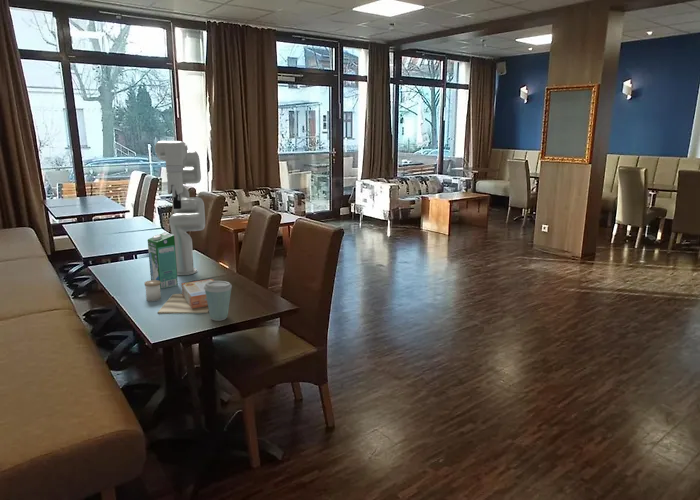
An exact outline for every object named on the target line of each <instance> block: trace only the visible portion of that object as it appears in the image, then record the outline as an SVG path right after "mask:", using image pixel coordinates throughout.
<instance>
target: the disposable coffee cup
mask: <svg viewBox="0 0 700 500" xmlns="http://www.w3.org/2000/svg"><path fill="white" fill-rule="evenodd" d="M232 288H233V285H232V283H230V282H229V281H225V280H214V281H211V282H207V283H206V285H205V286H204V289H205V292H206V298H207V303H208V308H209V311H208V313H209V317H210V319H211V320H212V321H217V322H218V321H225V320H226V319H227V318H228V315H229V307H230V301H231V293H232Z"/></svg>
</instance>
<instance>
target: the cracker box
mask: <svg viewBox="0 0 700 500" xmlns="http://www.w3.org/2000/svg"><path fill="white" fill-rule="evenodd" d="M211 281H215V280H214V279H213V278H210V279H203V280H195V281H188V282H182V283H181V284H180V285H181V294H182V295H183V296H184V298H185V299H186V301H187V302H188V304H189V305H190V306H191V308H192V309H194V308H200V307H205V306H208V303H207V298H206V292H205V289H204V286H205V285H206V283H207V282H211Z"/></svg>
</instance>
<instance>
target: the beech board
mask: <svg viewBox="0 0 700 500" xmlns="http://www.w3.org/2000/svg"><path fill="white" fill-rule="evenodd" d="M205 313H206V314H208V313H209V308H208V306H205V307H200V308H194V309H192V308H191V306H190V305H189V304H188V302H187V301H186V299H185V298H184V296H183V295H182V293H172V295H171V296H170V297H169V298H168V299H167V301H166V302H165V303H164V304H163V305H162V306H161V308H159V310H158V311H157V314H205Z"/></svg>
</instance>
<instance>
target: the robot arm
mask: <svg viewBox="0 0 700 500" xmlns="http://www.w3.org/2000/svg"><path fill="white" fill-rule="evenodd" d="M154 150H155V151H154V152H155V155H156V156H157V158H158V160H161V161H165V171H166V178H167V183H166V184H167V194H168V195H171V194H172V195H171V196H172V211H173V214H171V215H170V217H169V218H168V219H169V221H168V222H169V227H170V230H171V231H170V232H171V234H172V235H174V238H175V252H176V266H177V276H190V275H193V274H196V273H197V272H198V269H197V268H196V267H194V265H195V264H194V252H193V239H192V237H191V235H190V234H189V233H187V232H199V231H204V229H205V227H206V211H205V203H204V200H203V198H201V197H200V196H199V197H198V196H197V197H196V196H193V197H192V196H191V197H190V191H189V190H188V188H186V187H185V186H184V184H186V185H187V184H191V185H193V184H194V185H195V184H200V182H201V180H202V172H201V162H200V161H201V160H200V156H199V154H198V152H197V151H195V150H188V144H186V143H185V142H184V141H181V140H158V141H157V142H156V143H155V145H154Z"/></svg>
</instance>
